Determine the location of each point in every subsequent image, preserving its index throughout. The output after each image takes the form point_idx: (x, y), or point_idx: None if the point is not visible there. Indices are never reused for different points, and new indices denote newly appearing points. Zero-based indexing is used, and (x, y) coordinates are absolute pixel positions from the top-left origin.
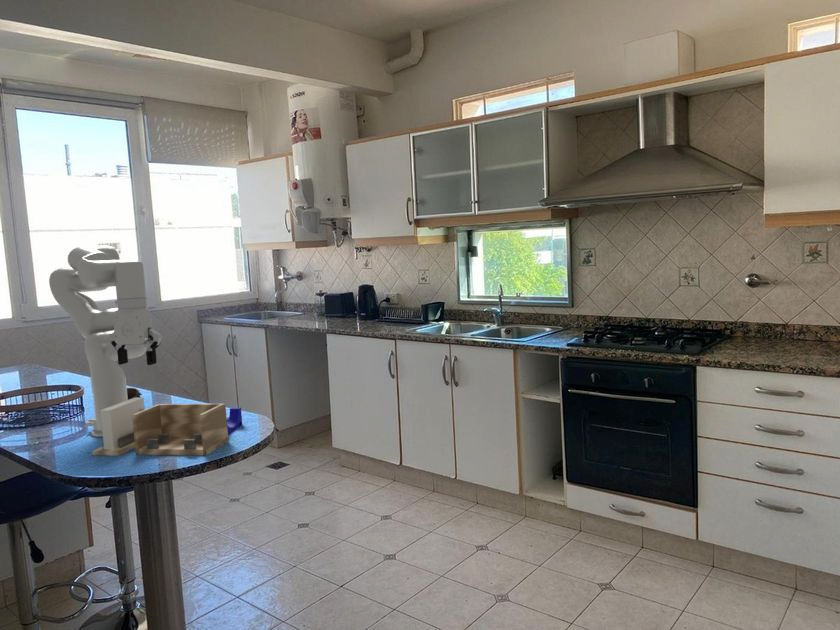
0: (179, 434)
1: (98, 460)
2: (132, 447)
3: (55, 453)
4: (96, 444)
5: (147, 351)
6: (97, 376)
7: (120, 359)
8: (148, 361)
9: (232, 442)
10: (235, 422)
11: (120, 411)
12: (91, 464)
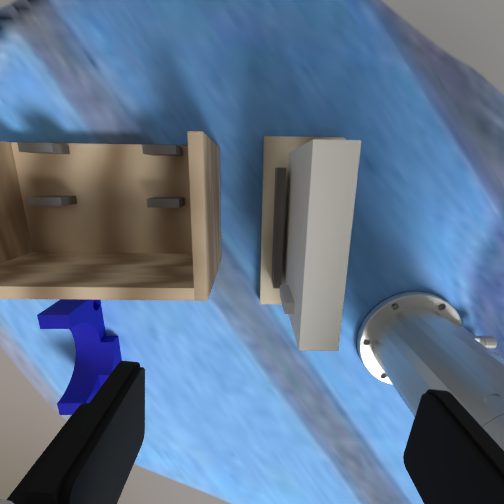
0: (156, 255)
1: (297, 94)
2: (262, 196)
3: (464, 155)
4: (390, 233)
5: (32, 489)
6: None
7: (452, 427)
8: (108, 379)
9: None
10: (78, 364)
11: (304, 206)
12: (295, 58)
